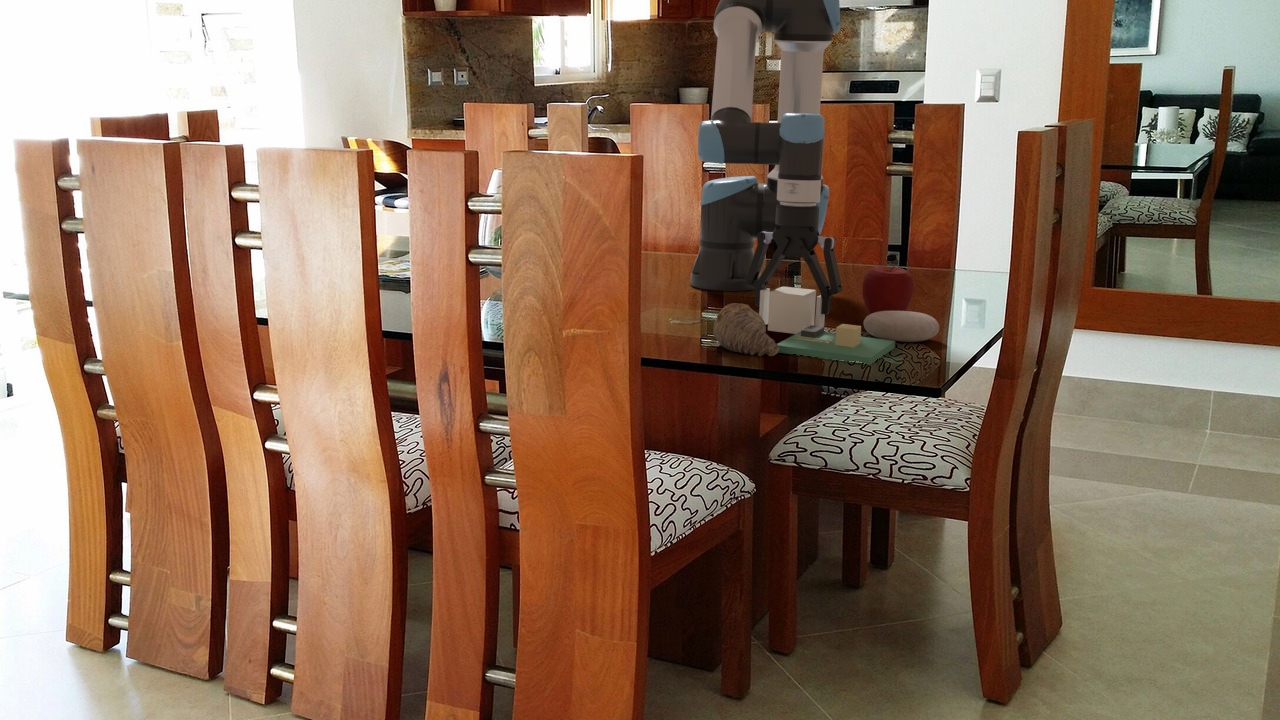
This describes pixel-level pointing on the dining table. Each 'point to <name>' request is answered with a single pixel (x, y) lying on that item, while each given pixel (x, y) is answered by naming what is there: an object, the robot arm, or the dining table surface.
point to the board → (836, 344)
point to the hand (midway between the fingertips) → (790, 328)
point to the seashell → (743, 331)
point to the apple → (887, 289)
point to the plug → (791, 309)
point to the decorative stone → (901, 326)
